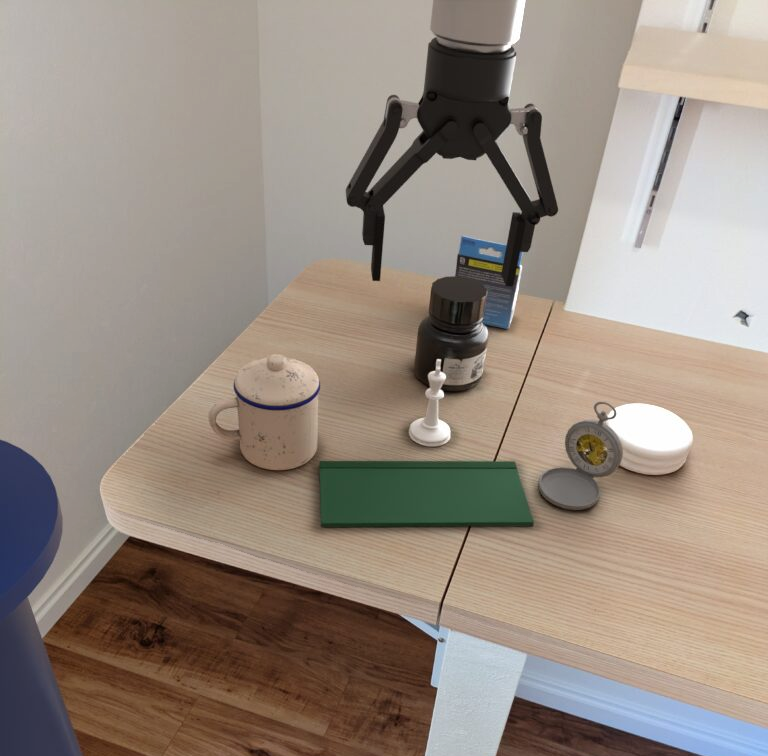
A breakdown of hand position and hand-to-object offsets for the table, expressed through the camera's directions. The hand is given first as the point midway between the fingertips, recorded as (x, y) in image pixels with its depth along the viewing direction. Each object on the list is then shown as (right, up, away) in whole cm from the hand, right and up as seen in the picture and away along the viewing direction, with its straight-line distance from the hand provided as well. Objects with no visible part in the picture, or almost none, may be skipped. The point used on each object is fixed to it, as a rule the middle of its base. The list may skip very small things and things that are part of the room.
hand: (441, 278), depth 81 cm
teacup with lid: (-19, -17, +8) cm, 27 cm away
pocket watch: (+15, -21, +7) cm, 27 cm away
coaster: (+25, -17, +13) cm, 32 cm away
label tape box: (+8, +4, +34) cm, 36 cm away
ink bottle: (+2, -6, +23) cm, 24 cm away
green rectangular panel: (-2, -22, +4) cm, 22 cm away
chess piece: (-1, -15, +13) cm, 19 cm away
